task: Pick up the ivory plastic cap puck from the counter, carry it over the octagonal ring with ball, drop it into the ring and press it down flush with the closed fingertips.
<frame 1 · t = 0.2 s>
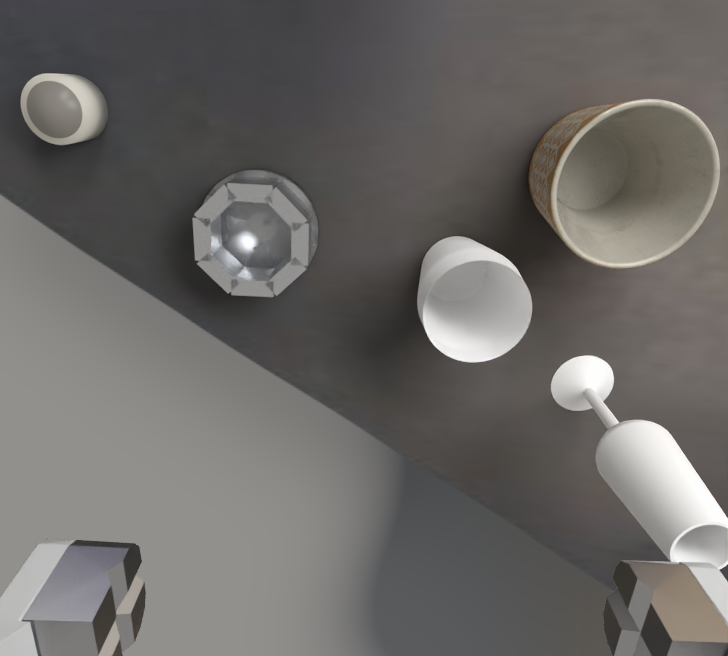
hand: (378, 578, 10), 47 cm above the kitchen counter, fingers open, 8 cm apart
planter: (584, 170, 54), on the kitchen counter
champagne flute: (581, 382, 62), on the kitchen counter
cap: (76, 108, 51), on the kitchen counter
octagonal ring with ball: (260, 229, 56), on the kitchen counter
cup: (454, 268, 57), on the kitchen counter
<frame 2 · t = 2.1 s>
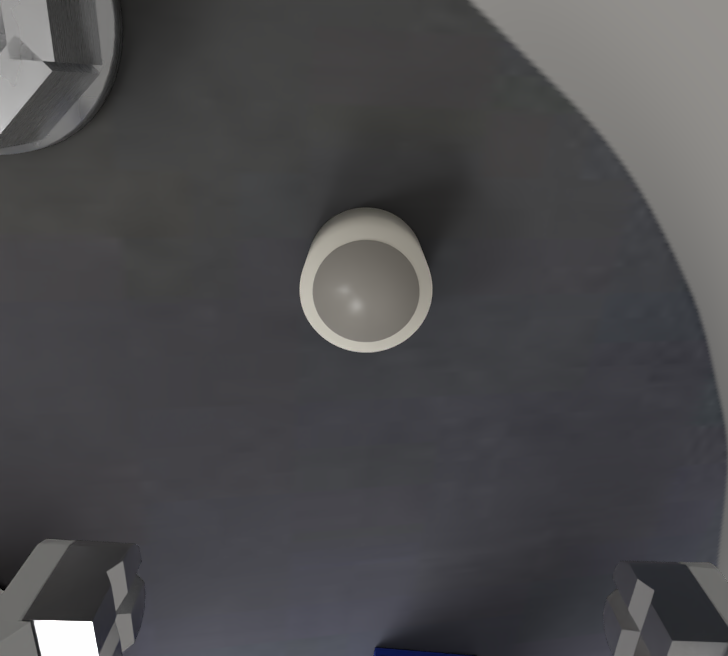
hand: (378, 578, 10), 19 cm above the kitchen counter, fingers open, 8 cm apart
cap: (365, 264, 28), on the kitchen counter
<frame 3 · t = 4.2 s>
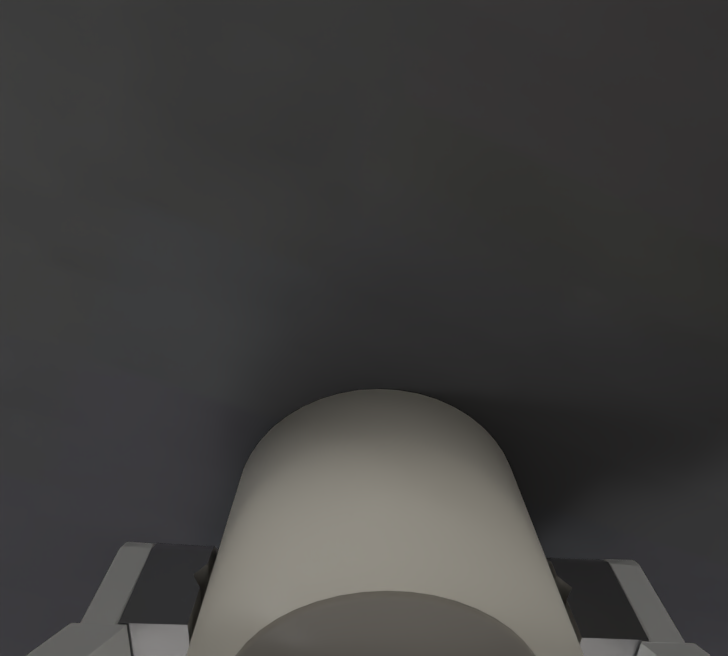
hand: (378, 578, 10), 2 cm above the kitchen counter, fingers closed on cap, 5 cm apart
cap: (376, 511, 12), on the kitchen counter, touching gripper
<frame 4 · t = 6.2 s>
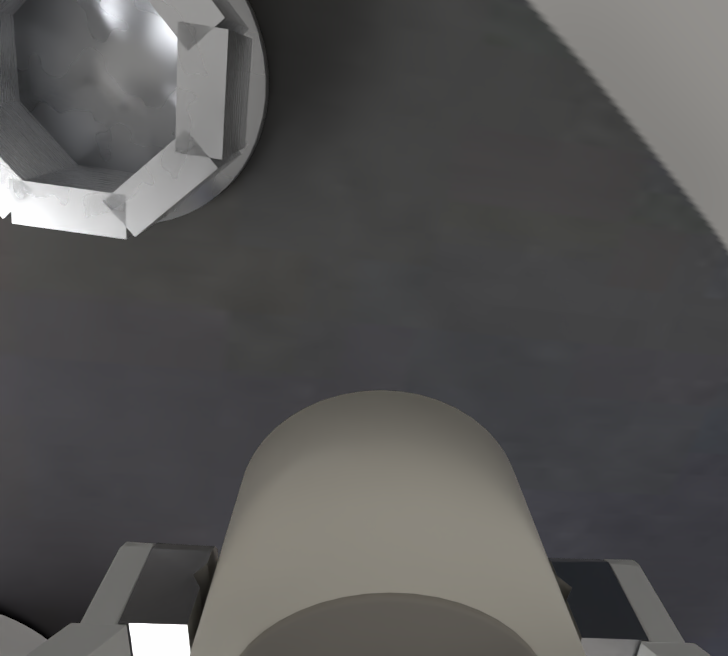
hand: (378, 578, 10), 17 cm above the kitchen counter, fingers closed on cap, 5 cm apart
cap: (378, 513, 12), point 15 cm above the kitchen counter, touching gripper
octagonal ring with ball: (123, 74, 22), on the kitchen counter
when the fingers open (7 cm above the kitchen counter, at t = 8.4 s): cap drops 4 cm, resting on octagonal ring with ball.
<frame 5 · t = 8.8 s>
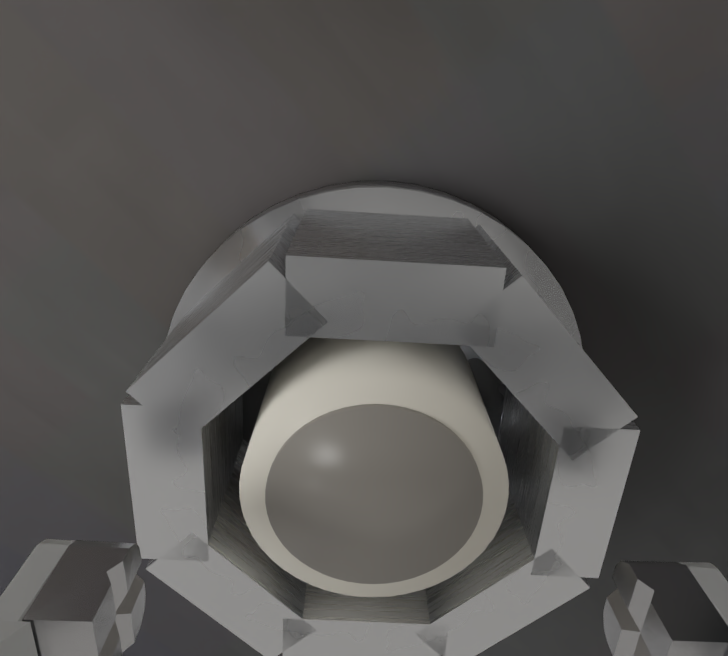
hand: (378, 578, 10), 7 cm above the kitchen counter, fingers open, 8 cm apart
cap: (371, 399, 16), point 1 cm above the kitchen counter, touching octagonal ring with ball
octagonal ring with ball: (372, 382, 17), on the kitchen counter
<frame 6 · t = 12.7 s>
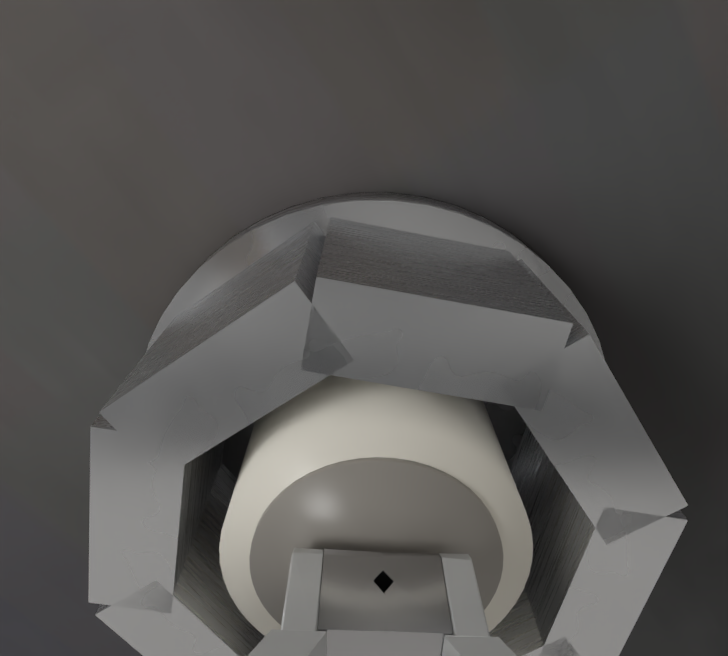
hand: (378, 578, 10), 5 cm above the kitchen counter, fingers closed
cap: (371, 435, 14), point 1 cm above the kitchen counter, touching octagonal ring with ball
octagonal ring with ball: (373, 414, 15), on the kitchen counter
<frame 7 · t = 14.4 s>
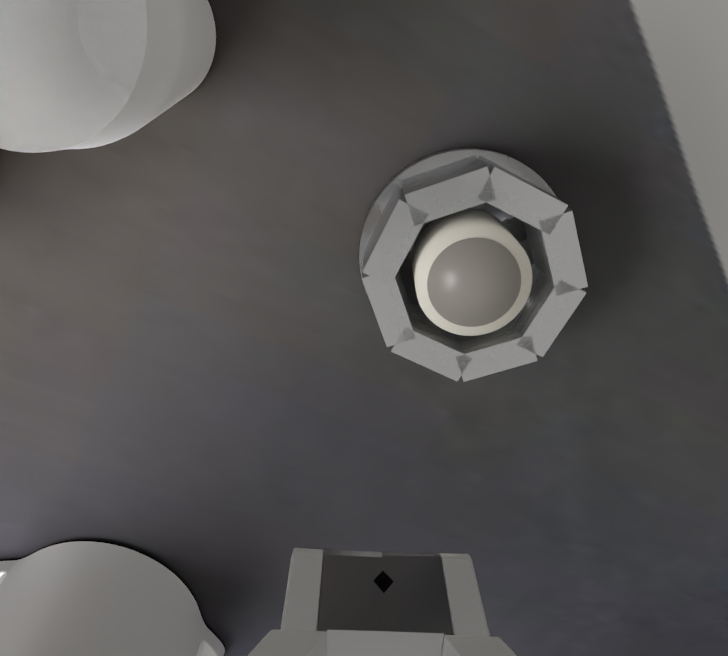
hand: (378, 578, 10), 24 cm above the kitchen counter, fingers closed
cap: (462, 258, 31), point 1 cm above the kitchen counter, touching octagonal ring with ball
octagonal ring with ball: (461, 253, 32), on the kitchen counter
cup: (149, 30, 28), on the kitchen counter
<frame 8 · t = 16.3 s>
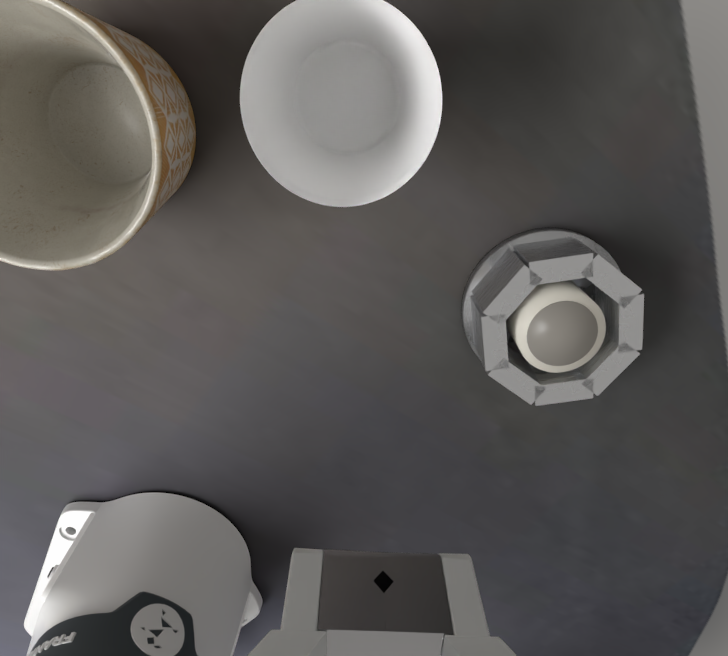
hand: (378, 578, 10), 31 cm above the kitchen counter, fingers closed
planter: (113, 124, 37), on the kitchen counter
cap: (543, 310, 40), point 1 cm above the kitchen counter, touching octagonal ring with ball
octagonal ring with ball: (540, 305, 41), on the kitchen counter
cup: (347, 98, 36), on the kitchen counter
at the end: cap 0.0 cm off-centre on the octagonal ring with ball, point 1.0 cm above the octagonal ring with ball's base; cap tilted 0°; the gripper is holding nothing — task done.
